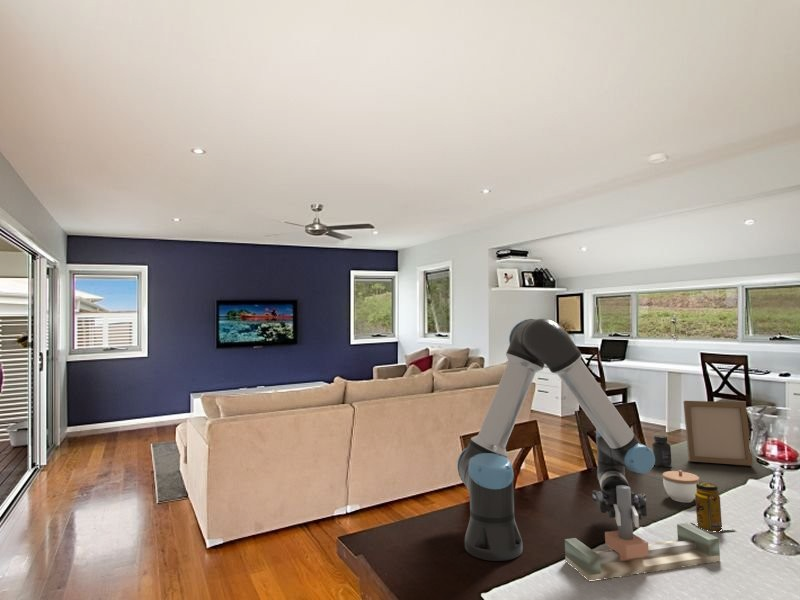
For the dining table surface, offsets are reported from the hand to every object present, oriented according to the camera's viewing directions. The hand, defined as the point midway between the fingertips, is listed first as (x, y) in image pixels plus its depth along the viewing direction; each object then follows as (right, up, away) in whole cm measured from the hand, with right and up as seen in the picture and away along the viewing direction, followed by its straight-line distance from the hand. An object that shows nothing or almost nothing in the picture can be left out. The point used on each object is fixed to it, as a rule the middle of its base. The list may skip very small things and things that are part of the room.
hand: (627, 520), depth 115 cm
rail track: (+6, -13, +5) cm, 15 cm away
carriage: (+2, -10, +5) cm, 12 cm away
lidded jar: (+40, -14, +47) cm, 63 cm away
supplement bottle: (+54, -16, +85) cm, 102 cm away
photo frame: (+79, -16, +90) cm, 121 cm away
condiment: (+36, -13, +24) cm, 45 cm away
